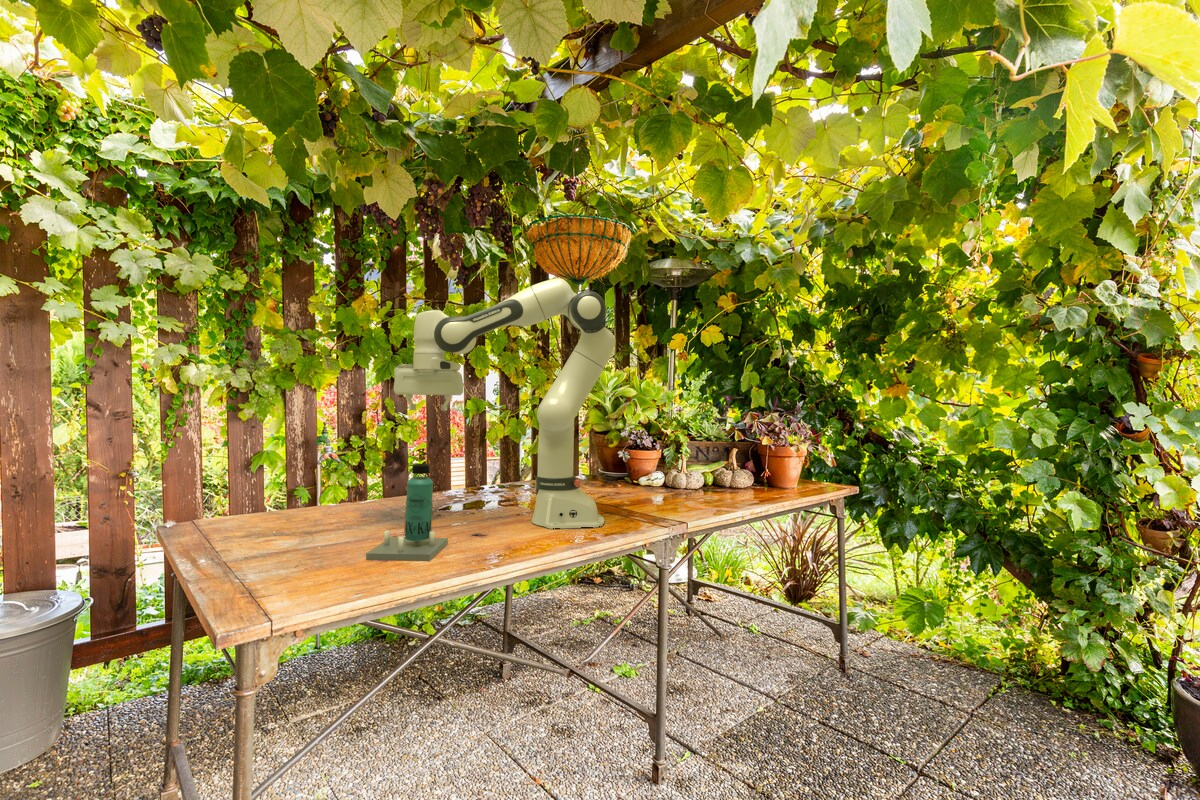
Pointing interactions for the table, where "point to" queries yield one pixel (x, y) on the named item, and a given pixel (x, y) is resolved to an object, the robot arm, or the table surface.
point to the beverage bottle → (419, 505)
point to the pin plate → (407, 548)
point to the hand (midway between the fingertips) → (428, 410)
